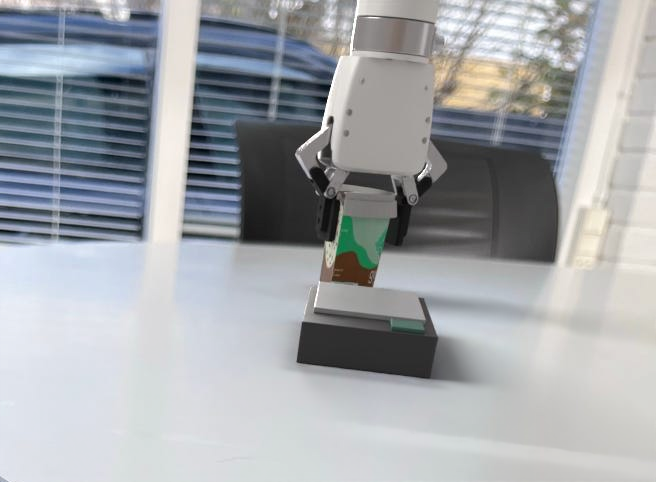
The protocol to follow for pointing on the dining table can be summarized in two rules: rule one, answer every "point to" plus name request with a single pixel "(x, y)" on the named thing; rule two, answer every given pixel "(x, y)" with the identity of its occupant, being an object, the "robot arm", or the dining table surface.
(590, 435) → the dining table surface
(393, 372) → the scale
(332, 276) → the food container
